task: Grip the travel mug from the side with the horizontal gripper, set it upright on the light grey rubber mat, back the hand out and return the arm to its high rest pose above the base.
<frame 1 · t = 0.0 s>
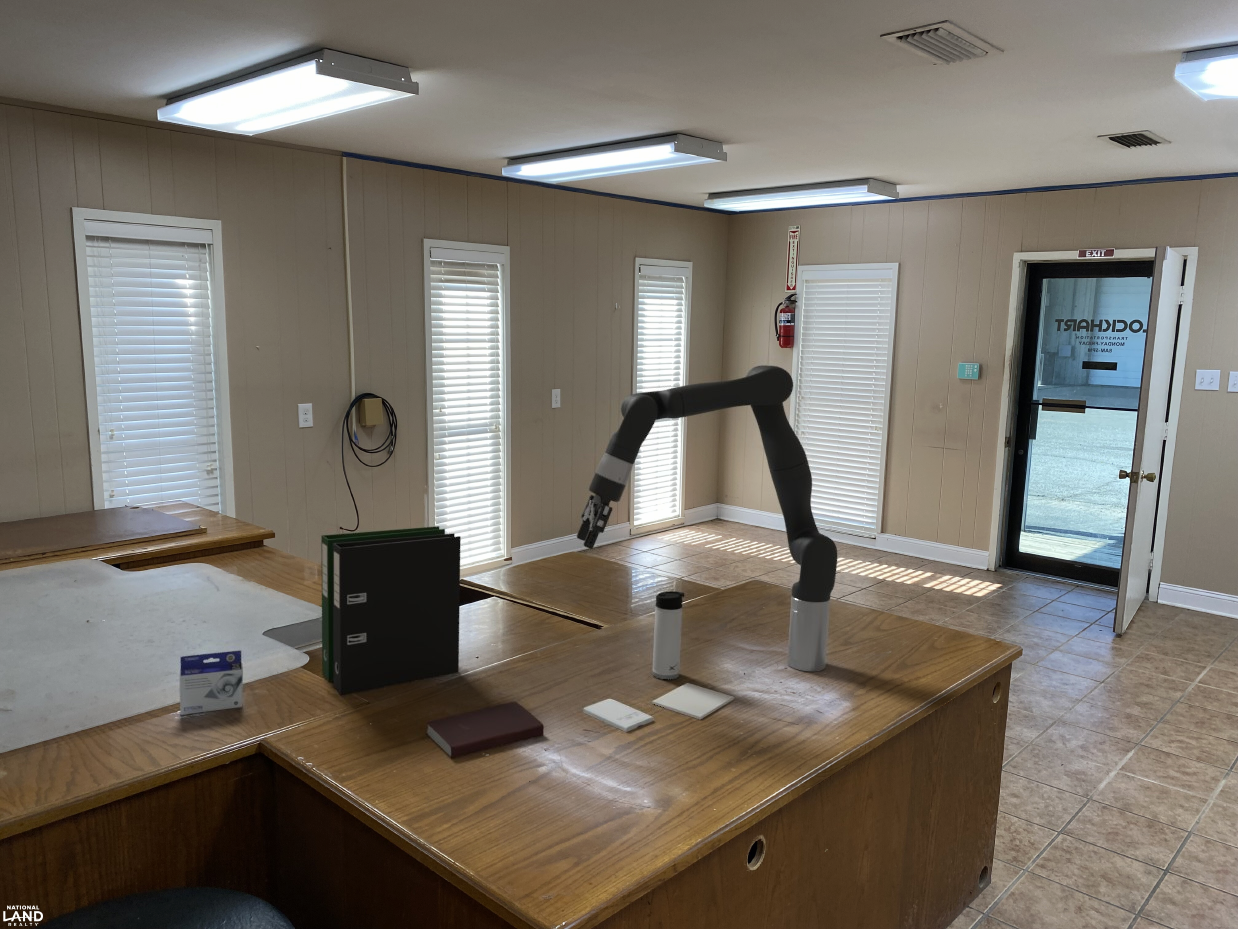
hand: (583, 543, 193), 31 cm above the table, tool tilted 20°, fingers open, 8 cm apart
grey mat: (693, 701, 185), on the table
ink box: (212, 710, 172), on the table
travel mug: (666, 676, 200), on the table
book: (484, 738, 165), on the table
ring binders: (392, 675, 194), on the table
external hard drive: (617, 720, 176), on the table
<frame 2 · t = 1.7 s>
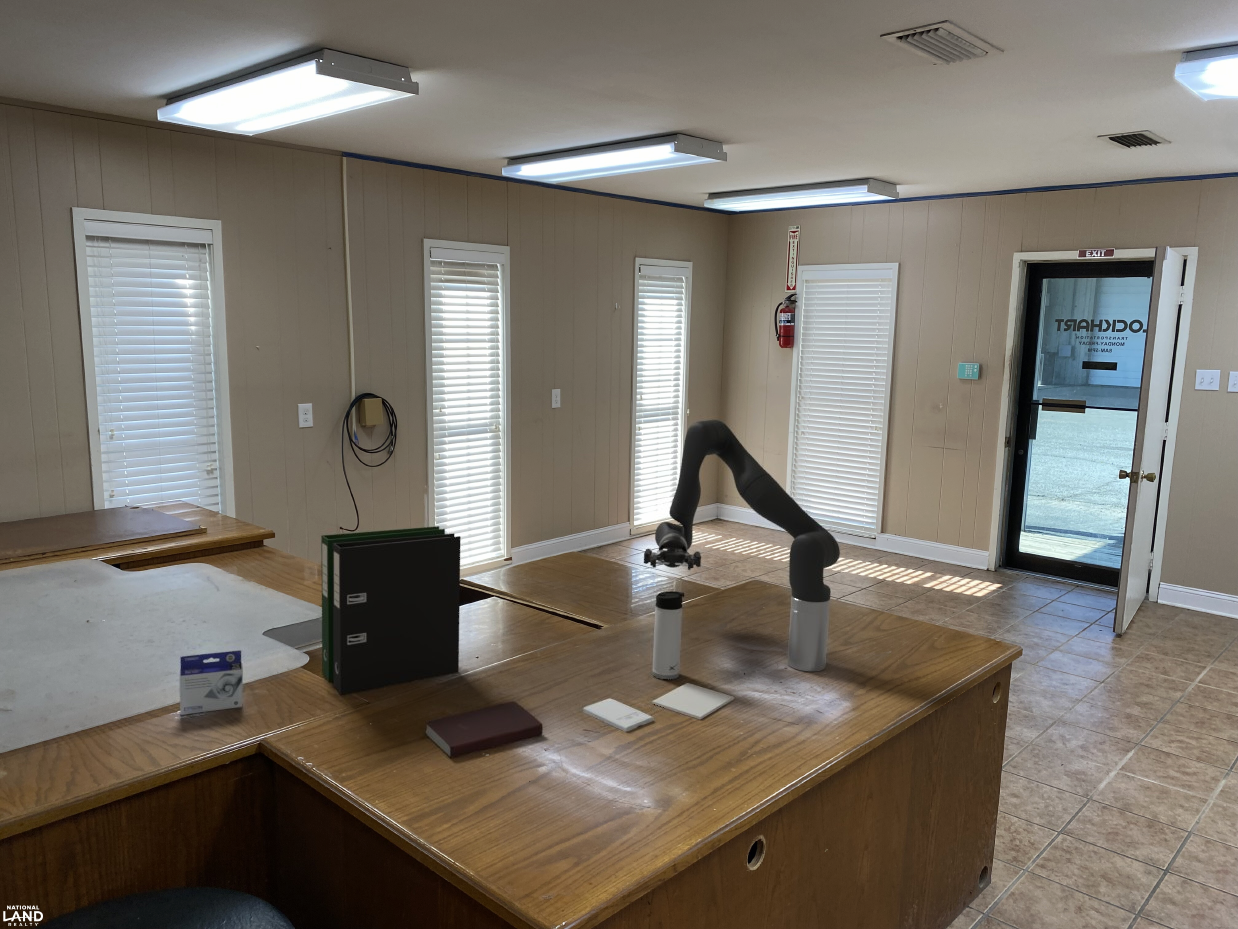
hand: (671, 564, 207), 24 cm above the table, tool horizontal, fingers open, 8 cm apart
nothing on the table moved.
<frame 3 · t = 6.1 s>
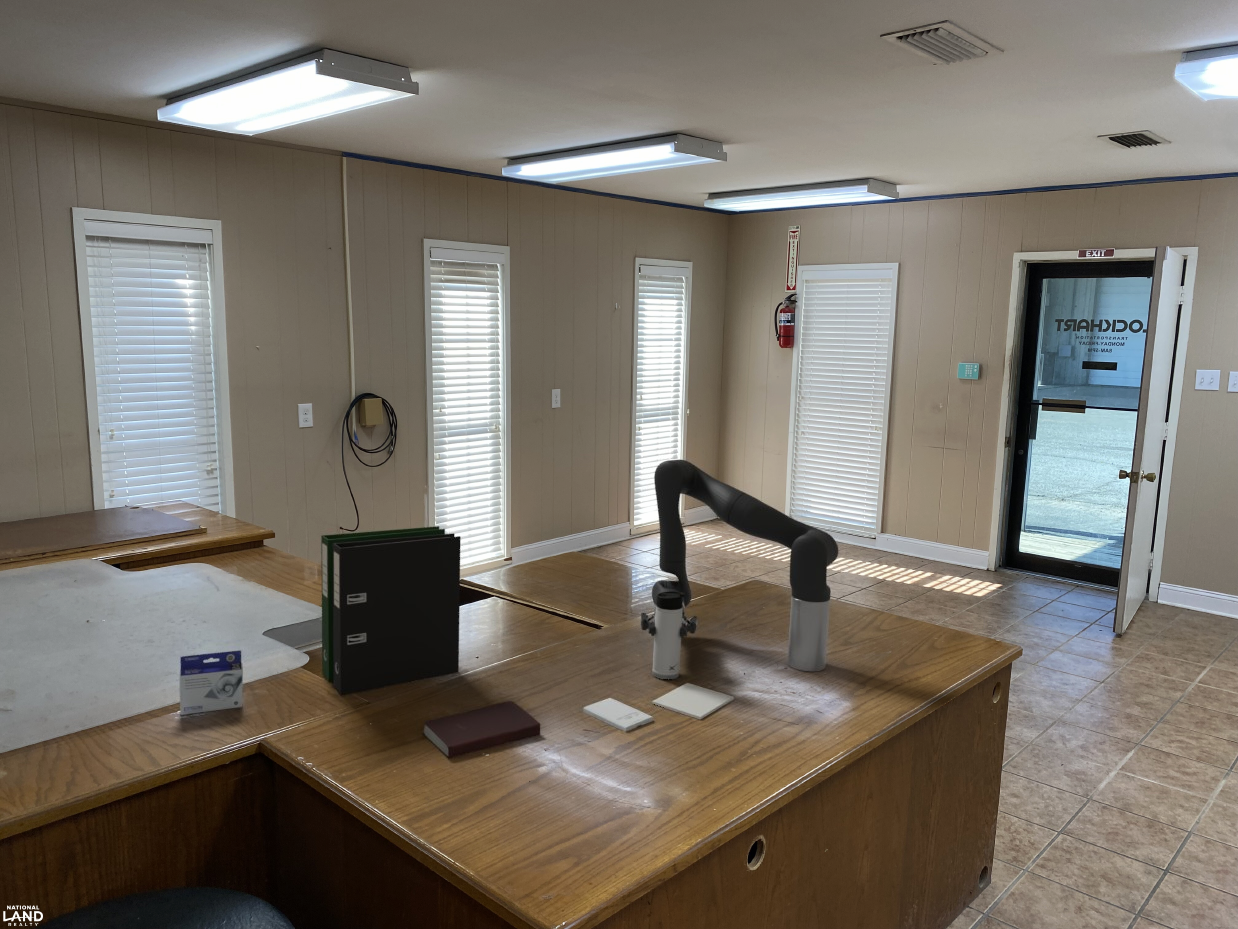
hand: (667, 632, 196), 11 cm above the table, tool horizontal, fingers closed on travel mug, 6 cm apart
travel mug: (666, 676, 200), on the table, touching gripper
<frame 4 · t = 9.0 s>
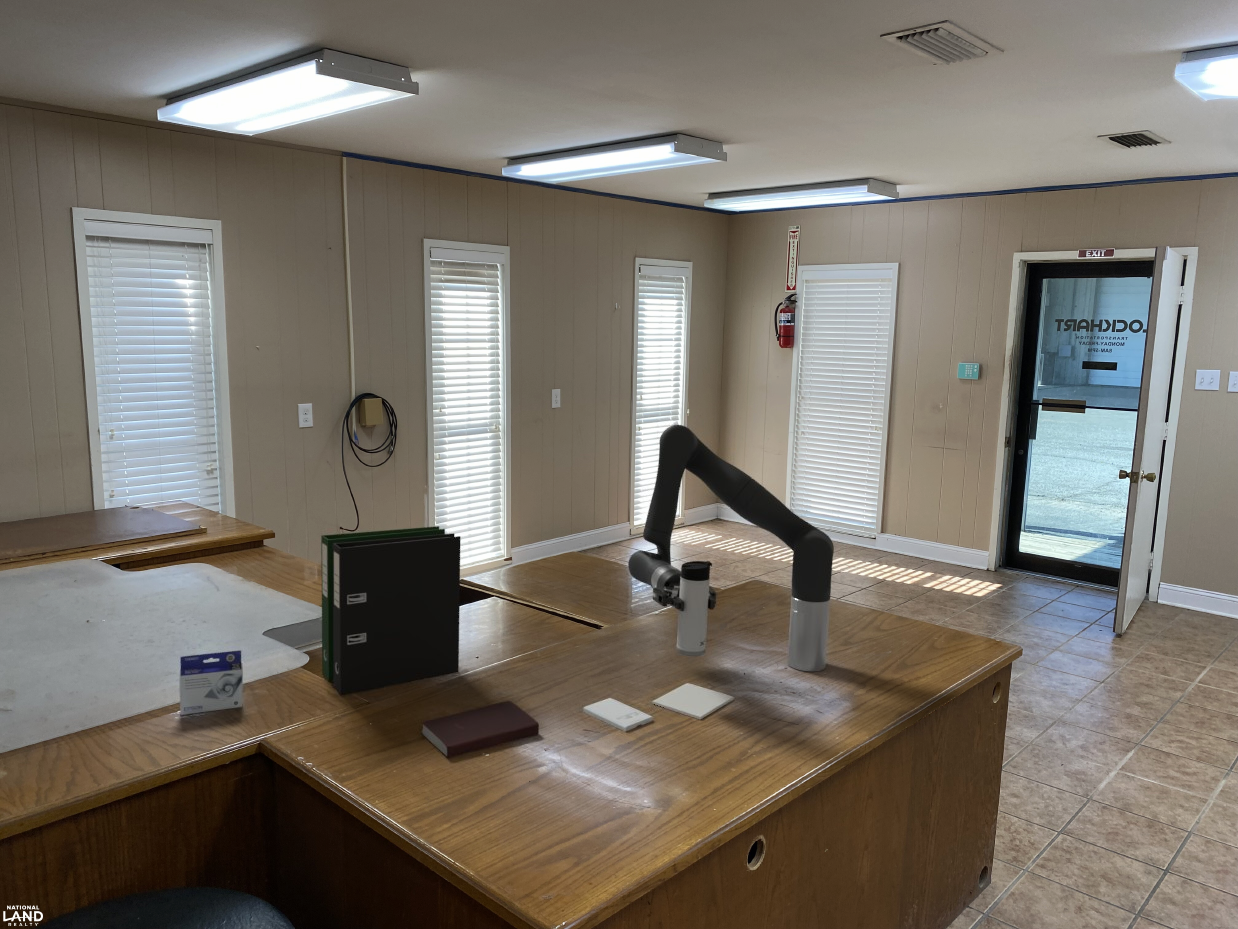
hand: (697, 605, 181), 22 cm above the table, tool horizontal, fingers closed on travel mug, 6 cm apart
travel mug: (691, 652, 185), point 10 cm above the table, touching gripper
everything else where it was.
when the fingers open (13 cm above the table, at t = 11.9 s): travel mug drops 1 cm, resting on grey mat.
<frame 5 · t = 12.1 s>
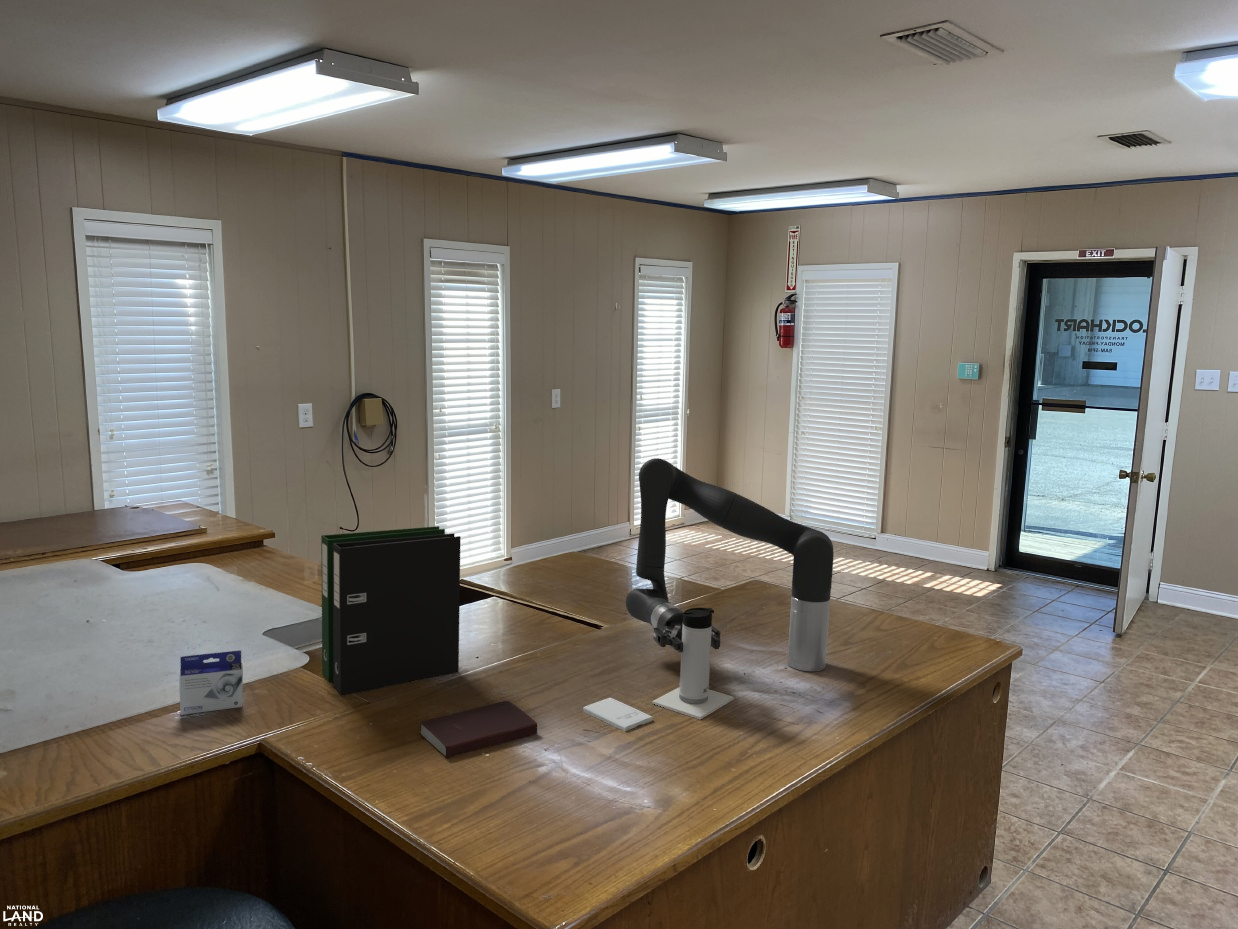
hand: (699, 646, 181), 13 cm above the table, tool horizontal, fingers open, 8 cm apart
travel mug: (694, 699, 185), resting on grey mat
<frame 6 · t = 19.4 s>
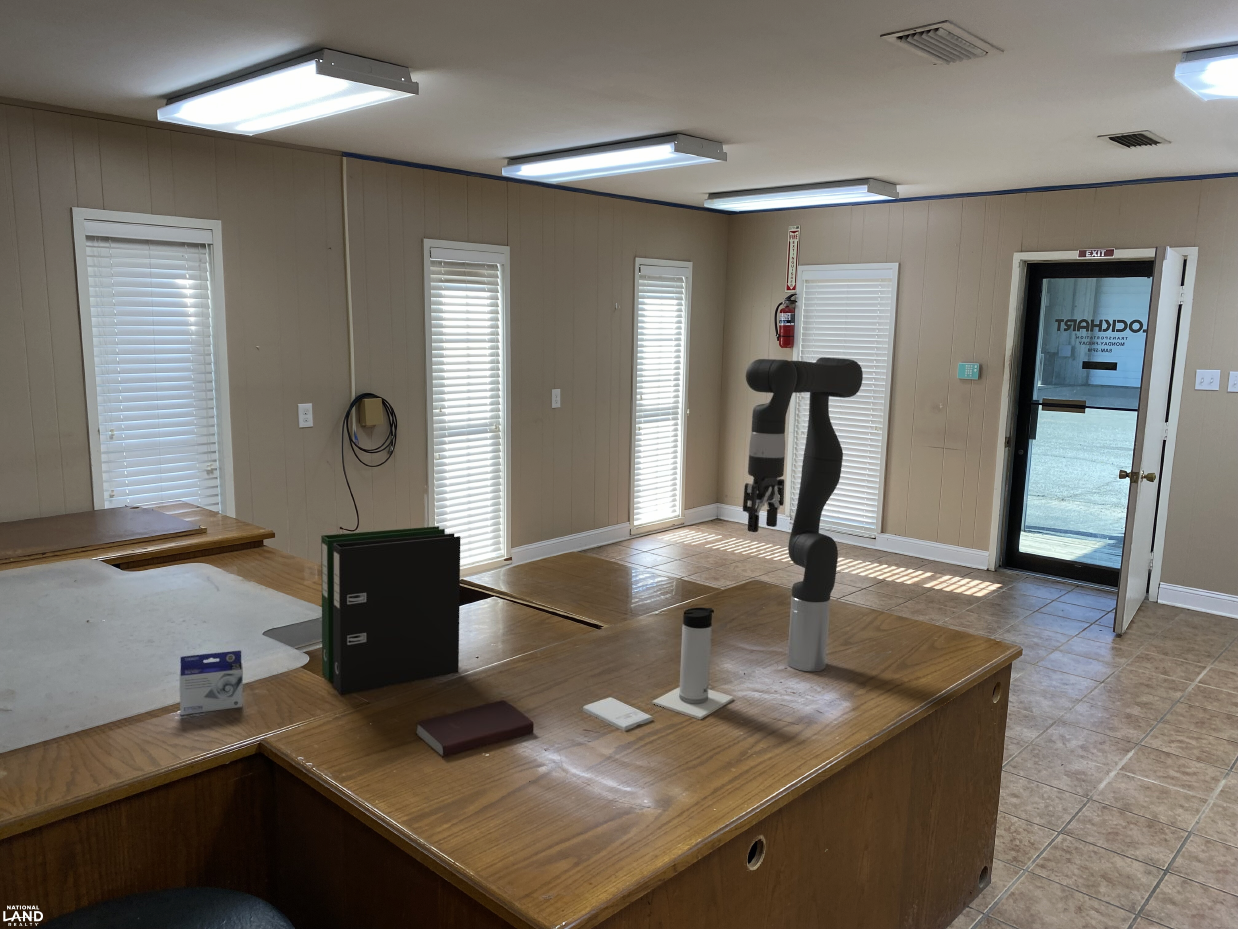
hand: (762, 529, 183), 38 cm above the table, tool pointing down, fingers open, 8 cm apart
at the end: travel mug inside the target area on the grey mat (0.3 cm from its centre), point 0.4 cm above the grey mat's base; travel mug tilted 0°; the gripper is holding nothing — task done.
